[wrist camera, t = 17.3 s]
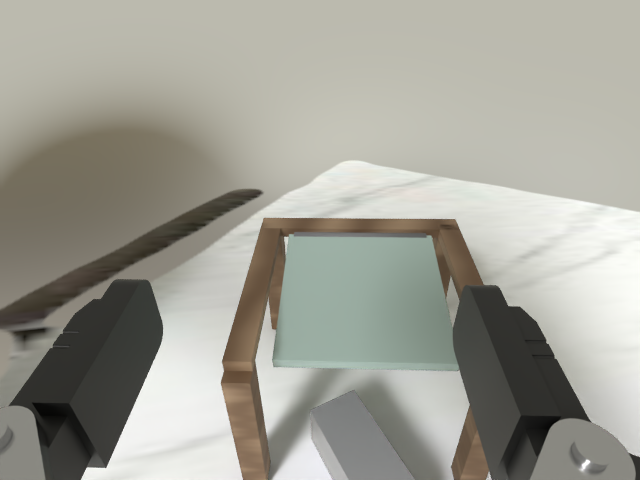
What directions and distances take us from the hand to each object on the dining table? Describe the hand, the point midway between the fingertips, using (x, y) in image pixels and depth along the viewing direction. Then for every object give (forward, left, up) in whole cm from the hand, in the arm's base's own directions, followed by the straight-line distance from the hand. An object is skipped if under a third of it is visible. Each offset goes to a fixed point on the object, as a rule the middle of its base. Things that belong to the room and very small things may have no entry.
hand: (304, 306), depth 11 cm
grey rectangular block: (+1, +15, -28) cm, 32 cm away
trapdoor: (+3, +20, -18) cm, 27 cm away
